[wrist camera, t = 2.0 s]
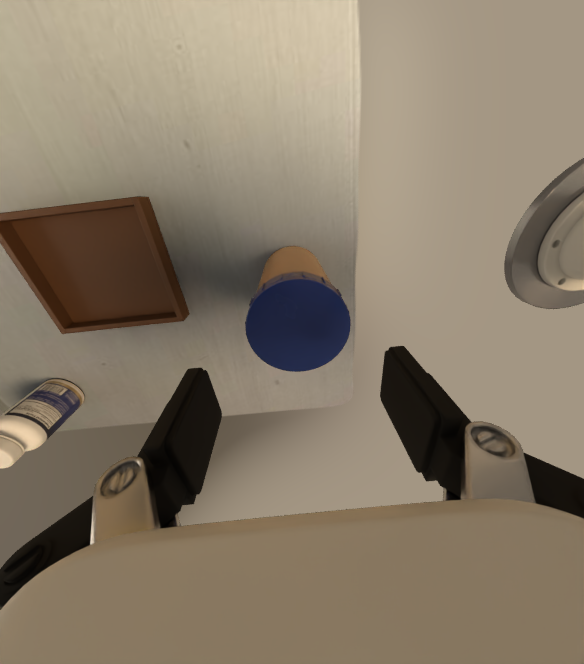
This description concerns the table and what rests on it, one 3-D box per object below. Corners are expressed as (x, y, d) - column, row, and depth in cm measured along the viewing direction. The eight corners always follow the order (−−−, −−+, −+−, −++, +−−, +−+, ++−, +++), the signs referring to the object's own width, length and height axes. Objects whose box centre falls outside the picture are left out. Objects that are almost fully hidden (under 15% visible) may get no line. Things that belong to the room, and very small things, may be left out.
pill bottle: (66, 410, 35) (-4, 477, 26) (34, 385, 32) (-55, 450, 24) (94, 399, 34) (31, 464, 26) (63, 372, 32) (-18, 435, 23)
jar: (320, 242, 24) (347, 272, 14) (323, 301, 28) (346, 361, 17) (258, 249, 25) (238, 284, 14) (267, 307, 28) (257, 370, 17)
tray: (148, 196, 22) (137, 196, 20) (189, 314, 28) (183, 321, 26) (3, 214, 22) (-19, 215, 21) (74, 326, 28) (61, 334, 27)
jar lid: (345, 265, 15) (352, 272, 13) (344, 353, 18) (350, 367, 17) (239, 277, 15) (234, 285, 14) (257, 362, 18) (255, 376, 17)
